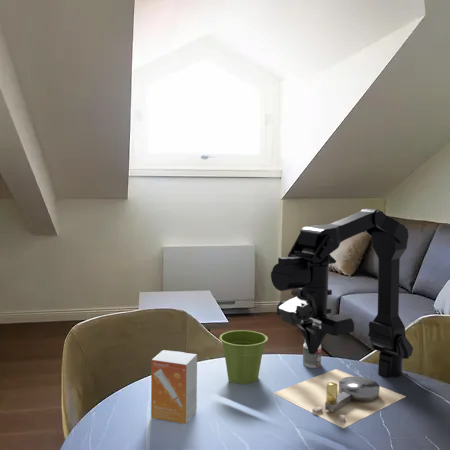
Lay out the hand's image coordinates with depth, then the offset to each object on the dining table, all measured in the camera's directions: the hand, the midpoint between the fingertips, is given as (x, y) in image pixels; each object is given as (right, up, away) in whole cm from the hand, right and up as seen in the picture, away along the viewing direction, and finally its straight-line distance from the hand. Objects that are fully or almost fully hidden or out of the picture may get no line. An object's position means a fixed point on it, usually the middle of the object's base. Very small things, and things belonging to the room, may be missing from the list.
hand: (312, 354), depth 111 cm
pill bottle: (+4, -10, +23) cm, 25 cm away
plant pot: (-15, -10, +14) cm, 23 cm away
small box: (-30, -12, -4) cm, 33 cm away
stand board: (+7, -12, +5) cm, 14 cm away
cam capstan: (+9, -10, +2) cm, 14 cm away
